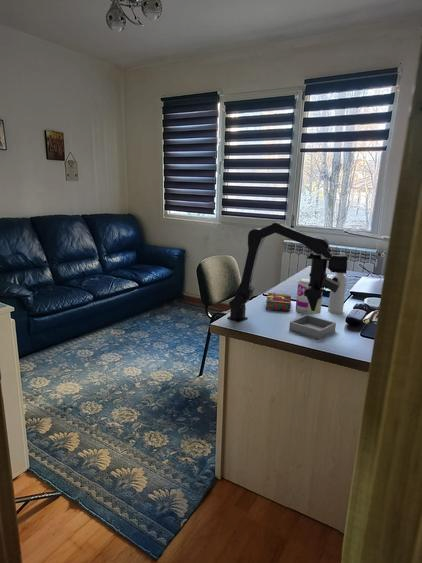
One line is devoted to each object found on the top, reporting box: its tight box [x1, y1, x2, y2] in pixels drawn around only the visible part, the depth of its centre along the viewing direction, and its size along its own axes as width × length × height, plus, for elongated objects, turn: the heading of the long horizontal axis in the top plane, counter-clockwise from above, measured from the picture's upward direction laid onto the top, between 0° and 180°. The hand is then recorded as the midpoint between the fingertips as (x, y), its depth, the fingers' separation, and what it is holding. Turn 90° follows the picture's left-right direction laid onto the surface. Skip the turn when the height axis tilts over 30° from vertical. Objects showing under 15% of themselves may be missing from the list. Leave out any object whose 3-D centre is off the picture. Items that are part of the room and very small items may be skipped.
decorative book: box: [265, 292, 292, 312], centre depth 174 cm, size 11×16×5 cm
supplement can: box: [295, 277, 310, 314], centre depth 167 cm, size 8×8×15 cm
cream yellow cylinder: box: [308, 296, 323, 315], centre depth 142 cm, size 5×5×6 cm
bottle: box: [327, 251, 347, 315], centre depth 166 cm, size 7×7×28 cm
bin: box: [288, 314, 337, 340], centre depth 144 cm, size 13×13×4 cm
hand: (314, 309), depth 143 cm, fingers closed on cream yellow cylinder, 5 cm apart
